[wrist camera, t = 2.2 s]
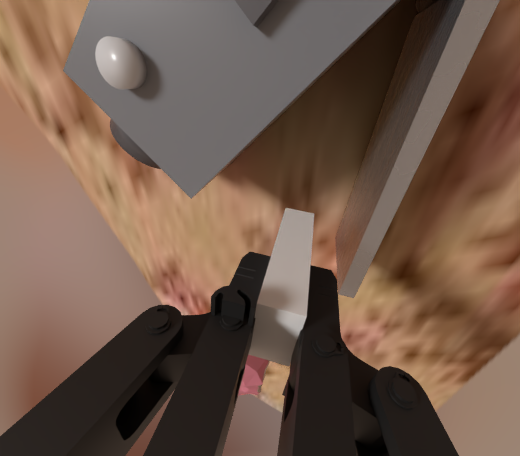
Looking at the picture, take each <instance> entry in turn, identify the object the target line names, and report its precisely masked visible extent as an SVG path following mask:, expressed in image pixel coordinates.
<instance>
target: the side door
mask: <svg viewBox="0 0 520 456" xmlns="http://www.w3.org/2000/svg"><path fill="white" fill-rule="evenodd" d="M499 1H500V0H416V9H417V11H418V13H419V14H418V15H416V16H415V17H414V19H413V21H412V24H411V27H410V30H409V33H408V35H407V38H406V41H405V44H404V47H403V49H402V52H401V55H400V58H399V61H398V63H397V66H396V69H395V72H394V75H393V77H392V80H391V83H390V86H389V89H388V92H387V94H386V97H385V100H384V103H383V106H382V108H381V111H380V114H379V117H378V120H377V122H376V125H375V128H374V131H373V134H372V136H371V139H370V142H369V145H368V148H367V150H366V153H365V156H364V159H363V162H362V165H361V167H360V170H359V173H358V176H357V179H356V181H355V184H354V187H353V190H352V193H351V195H350V198H349V201H348V204H347V207H346V209H345V212H344V215H343V218H342V221H341V223H340V226H339V229H338V232H337V235H336V237H335V238H336V258H337V277H338V294H340V295H344V296H347V297H351V298H354V297H355V295H356V293H357V291H358V289H359V287H360V285H361V283H362V281H363V279H364V276H365V274H366V272H367V270H368V268H369V266H370V264H371V262H372V260H373V258H374V256H375V254H376V252H377V250H378V248H379V246H380V244H381V242H382V240H383V238H384V236H385V234H386V232H387V229H388V227H389V225H390V223H391V221H392V219H393V217H394V215H395V213H396V211H397V209H398V207H399V205H400V203H401V201H402V199H403V197H404V195H405V193H406V191H407V189H408V187H409V185H410V183H411V180H412V178H413V176H414V174H415V172H416V170H417V168H418V166H419V164H420V162H421V160H422V158H423V156H424V154H425V152H426V150H427V148H428V146H429V144H430V142H431V140H432V138H433V136H434V134H435V131H436V129H437V127H438V125H439V123H440V121H441V119H442V117H443V115H444V113H445V111H446V109H447V107H448V105H449V103H450V101H451V99H452V97H453V95H454V93H455V91H456V89H457V87H458V84H459V82H460V80H461V78H462V76H463V74H464V72H465V70H466V68H467V66H468V64H469V62H470V60H471V58H472V56H473V54H474V52H475V50H476V48H477V46H478V44H479V42H480V40H481V38H482V35H483V33H484V31H485V29H486V27H487V25H488V23H489V21H490V19H491V17H492V15H493V13H494V11H495V9H496V7H497V5H498V3H499Z"/></svg>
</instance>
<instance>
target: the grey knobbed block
mask: <svg viewBox="0 0 520 456" xmlns="http://www.w3.org/2000/svg"><path fill="white" fill-rule="evenodd" d="M399 1H401V0H90V1H89V3H88V6H87V9H86V11H85V14H84V16H83V19H82V22H81V24H80V27H79V30H78V32H77V35H76V38H75V40H74V43H73V46H72V48H71V51H70V54H69V56H68V59H67V62H66V64H65V67H64V70H63V71H64V72H65V73H66V74H67V75H68V76H69V77H70V78H71V79H72V80H73V81H74V82H75V83H76V84H77V85H78V86H79V87H80V88H81V89H82V90H83V91H84V92H85V93H86V94H87V95H88V96H89V97H90V98H91V99H92V100H93V101H94V102H95V103H96V104H97V105H98V106H99V107H100V108H101V109H102V110H103V111H104V112H105V113H106V114H107V115H108V116H109V117H110V118H111V121H110V129H111V132H112V134H113V136H114V138H115V140H116V141H117V142H118V144H119V145H120V146H121V147H122V148H123V149H124V150H125V151H126V152H127V153H128V154H130V155H131V156H132V157H134V158H135V159H136V160H138V161H140V162H142V163H144V164H146V165H148V166H151V167H154V168H158V169H162V170H163V171H164V172H165V173H166V174H167V175H168V176H169V177H170V178H171V179H172V180H173V181H174V182H175V183H176V184H177V185H178V186H179V187H180V188H181V189H182V190H183V191H184V192H185V193H186V194H187V195H188V196H189V197H190V198H193V197H194V196H195V195H196V194H197V193H198V192H199V191H200V190H201V189H203V188H204V187H205V186H206V185H207V184H208V183H209V182H210V181H212V180H213V179H214V178H215V177H216V176H217V175H218V174H219V173H220V172H222V171H223V170H224V169H225V168H226V167H227V166H228V165H229V164H230V163H232V162H233V161H234V160H235V159H236V158H237V157H238V156H239V155H240V154H241V153H242V152H243V151H244V150H245V149H246V148H247V147H248V146H249V145H250V144H251V143H252V142H253V141H254V140H256V139H257V138H258V137H259V136H260V135H261V134H262V133H263V132H264V131H265V130H266V129H267V128H268V127H269V126H270V125H271V124H272V123H273V122H274V121H275V120H276V119H277V118H278V117H280V116H281V115H282V114H283V113H284V112H285V111H286V110H287V109H288V108H289V107H290V106H291V105H292V104H293V103H294V102H295V101H296V100H297V99H298V98H299V97H300V96H301V95H302V94H304V93H305V92H306V91H307V90H308V89H309V88H310V87H311V86H312V85H313V84H314V83H315V82H316V81H317V80H318V79H319V78H320V77H321V76H322V75H323V74H324V73H325V72H326V71H327V70H329V69H330V68H331V67H332V66H333V65H334V64H335V63H336V62H337V61H338V60H339V59H340V58H341V57H342V56H343V55H344V54H345V53H346V52H347V51H348V50H349V49H350V48H351V47H353V46H354V45H355V44H356V43H357V42H358V41H359V40H360V39H361V38H362V37H363V36H364V35H365V34H366V33H367V32H368V31H369V30H370V29H371V28H372V27H373V26H374V25H375V24H377V23H378V22H379V21H380V20H381V19H382V18H383V17H384V16H385V15H386V14H387V13H388V12H389V11H390V10H391V9H392V8H393V7H394V6H395V5H396V4H397V3H398V2H399Z"/></svg>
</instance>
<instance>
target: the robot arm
mask: <svg viewBox="0 0 520 456" xmlns="http://www.w3.org/2000/svg"><path fill="white" fill-rule="evenodd" d="M313 224H314V214H313V213H309V212H304V211H299V210H295V209H290V208H285V212H284V215H283V218H282V222H281V225H280V228H279V232H278V235H277V238H276V242H275V245H274V248H273V251H272V255H271V257H270V256H266V255H262V254H258V253H254V252H249V253H248V254H246V255H245V256H244V257H243V258H242V259H241V262H240V264H239V266H238V268H237V270H236V272H235V275H234V277H233V279H232V281H231V283H230V285H229V286H225V287H222V288H220V289H218V290H216V291H215V293H214V294H213V295H212V296H211V312H209V313H206V314H202V315H181V312H180V311H179V310H178V309H176V308H175V307H173V306H169V305H158V306H155V307H152V308H149V309H148V310H146V311H145V312H143V313H142V314H141V315H139V316H138V317H137V318H136V319H135V320H134V321H133V322H131V323H130V324H129V325H128V326H127V327H126V328H124V330H122V331H121V332H120V333H119V334H118V335H116V336H115V337H114V338H113V339H112V340H111V341H110V342H108V343H107V344H106V345H105V346H104V347H103V348H101V349H100V350H99V351H98V352H97V353H96V354H95V355H93V356H92V357H91V358H90V359H89V360H88V361H86V362H85V363H84V364H83V365H82V366H81V367H80V368H79V369H77V370H76V371H75V372H74V373H73V374H72V375H70V377H68V378H67V379H66V380H65V381H64V382H62V383H61V384H60V385H59V386H58V387H57V388H55V389H54V390H53V391H52V392H51V393H50V394H49V395H47V396H46V397H45V398H44V399H43V400H42V401H41V402H39V403H38V404H37V405H36V406H35V407H34V408H32V409H31V410H30V411H29V412H28V413H27V414H25V415H24V416H23V417H22V418H21V419H20V420H19V421H17V422H16V423H15V424H14V425H13V426H12V427H11V428H9V429H8V430H7V431H6V432H5V433H4V434H2V435H1V436H0V456H125V455H126V454H127V453H128V451H129V450H130V449H131V447H132V446H133V444H134V443H135V442H136V440H137V439H138V438H139V436H140V435H141V434H142V432H143V431H144V430H145V428H146V427H147V426H148V424H149V423H150V422H151V420H152V419H153V417H154V416H155V415H156V413H157V412H158V411H159V410H160V408H161V407H162V406H163V404H164V403H165V402H166V400H167V399H168V398H169V396H170V395H171V394H172V392H173V391H174V390H175V391H174V393H173V395H172V397H171V399H170V401H169V403H168V405H167V407H166V409H165V411H164V413H163V416H162V418H161V420H160V422H159V424H158V426H157V428H156V430H155V432H154V435H153V436H152V438H151V441H150V443H149V445H148V447H147V449H146V451H145V453H144V455H143V456H222V453H223V449H224V445H225V442H226V437H227V434H228V430H229V427H230V423H231V419H232V416H233V412H234V408H235V404H236V401H237V397H238V394H239V390H240V386H241V382H242V379H243V375H244V371H245V365H246V361H247V357H248V354H249V355H252V356H255V357H259V358H262V359H266V360H269V361H272V362H276V363H279V364H283V365H286V366H290V363H291V366H290V374H289V377H288V380H287V383H286V386H285V389H284V391H283V394H282V395H284V396H285V398H284V406H283V415H282V422H281V430H280V438H279V446H278V453H277V456H459V455H458V453H457V451H456V450H455V448H454V446H453V444H452V442H451V440H450V438H449V436H448V434H447V432H446V431H445V429H444V427H443V425H442V423H441V421H440V419H439V417H438V415H437V413H436V412H435V410H434V408H433V406H432V404H431V402H430V400H429V398H428V396H427V394H426V393H425V391H424V390H423V388H422V387H421V386H420V384H419V383H418V382H417V381H416V380H415V379H414V378H413V377H412V376H411V375H410V374H408V373H406V372H404V371H403V370H401V369H399V368H395V367H391V366H389V367H383V368H381V369H380V370H379V371H378V370H377V369H375V368H373V367H372V366H370V365H368V364H367V363H365V362H363V361H362V360H360V359H359V358H357V357H356V356H354V355H353V354H352V353H351V352H350V351H349V350H348V348H347V347H346V345H345V343H344V341H343V340H342V338H341V333H340V322H339V306H338V292H337V279H336V278H335V276H334V274H333V272H332V271H331V270H328V269H324V268H320V267H316V266H311V251H312V237H313Z"/></svg>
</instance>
